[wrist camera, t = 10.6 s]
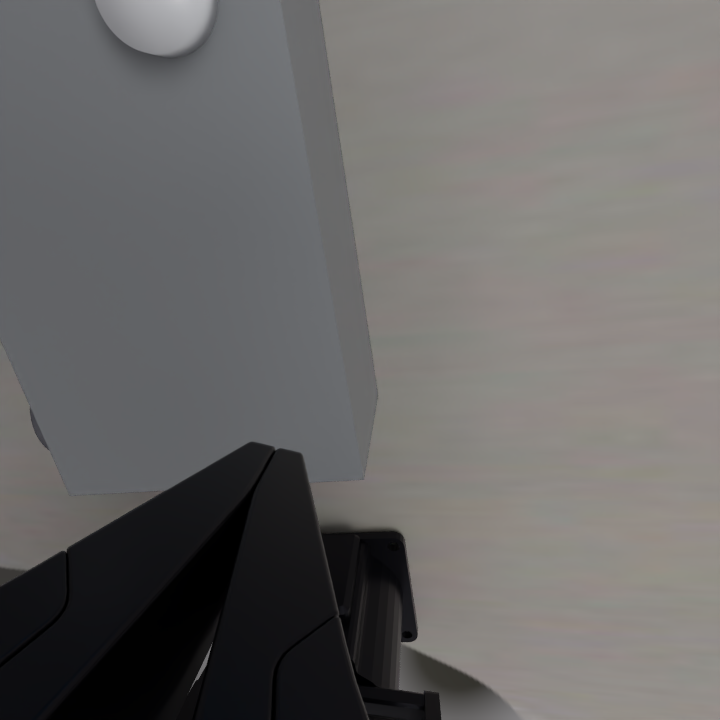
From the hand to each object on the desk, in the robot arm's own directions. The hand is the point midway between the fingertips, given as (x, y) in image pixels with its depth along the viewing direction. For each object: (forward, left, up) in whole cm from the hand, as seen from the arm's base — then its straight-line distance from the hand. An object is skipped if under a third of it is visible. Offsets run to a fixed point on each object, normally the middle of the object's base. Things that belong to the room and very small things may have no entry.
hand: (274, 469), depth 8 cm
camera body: (+4, +5, -12) cm, 14 cm away
